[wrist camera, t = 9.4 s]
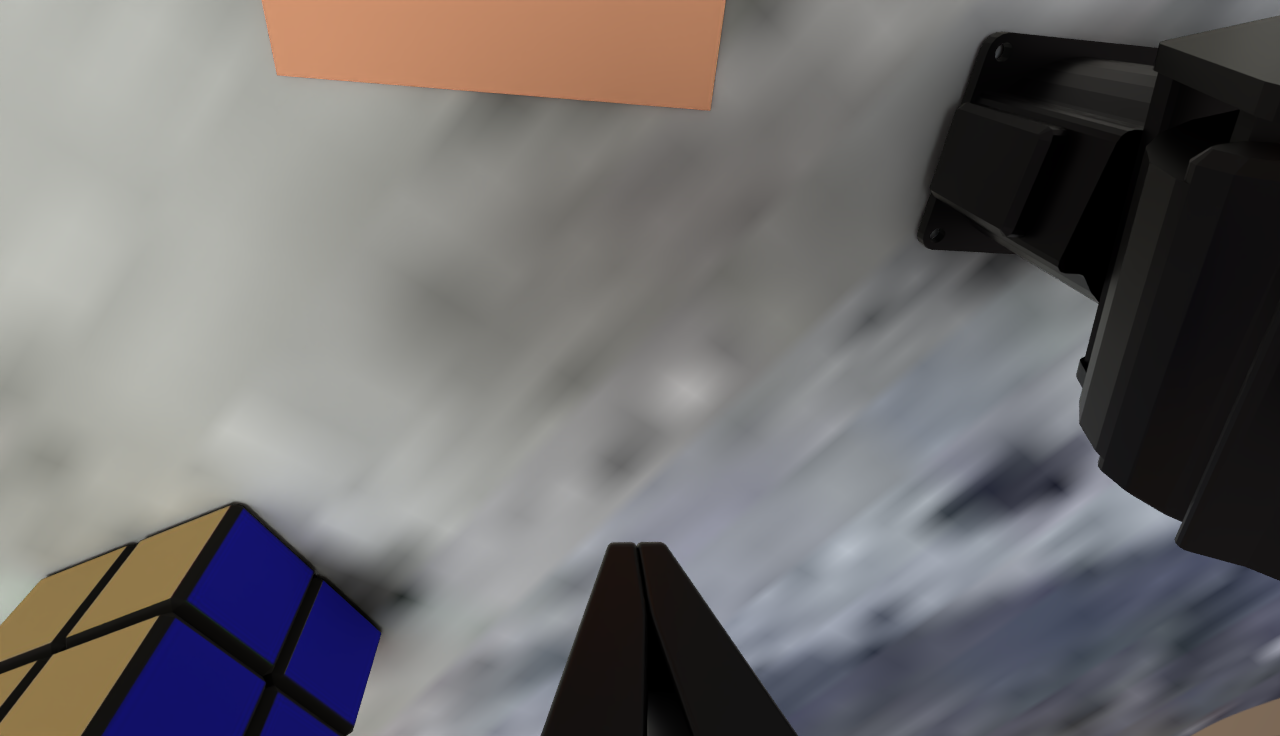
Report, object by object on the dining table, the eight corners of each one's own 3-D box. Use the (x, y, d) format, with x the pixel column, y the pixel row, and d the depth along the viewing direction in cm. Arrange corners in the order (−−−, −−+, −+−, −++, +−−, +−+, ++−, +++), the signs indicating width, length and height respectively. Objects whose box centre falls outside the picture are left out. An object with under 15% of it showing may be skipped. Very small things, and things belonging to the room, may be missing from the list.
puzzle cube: (387, 630, 30) (314, 887, 21) (215, 690, 31) (81, 956, 22) (241, 496, 24) (67, 766, 16) (40, 575, 26) (-221, 865, 17)
